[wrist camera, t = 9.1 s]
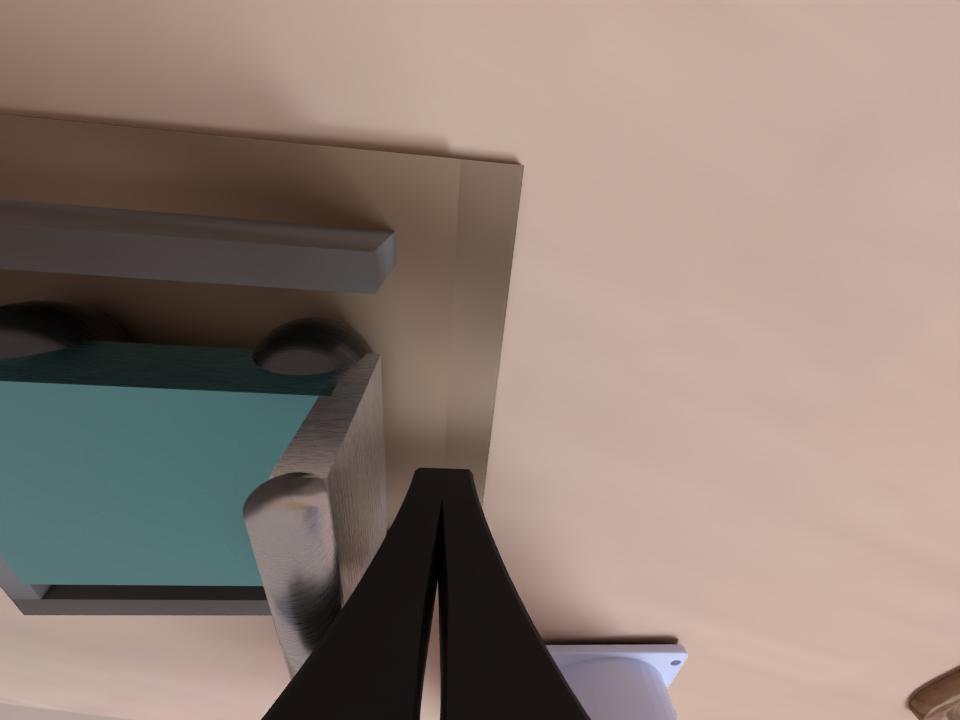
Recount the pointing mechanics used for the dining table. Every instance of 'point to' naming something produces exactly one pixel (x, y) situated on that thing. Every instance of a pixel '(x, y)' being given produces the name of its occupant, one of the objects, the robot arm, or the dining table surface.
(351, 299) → the dock bay
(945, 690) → the chopping board
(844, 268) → the dining table surface
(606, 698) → the robot arm
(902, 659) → the dining table surface
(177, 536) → the trolley
